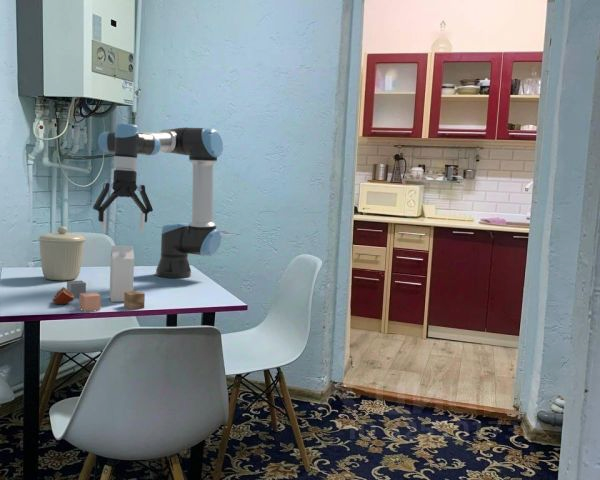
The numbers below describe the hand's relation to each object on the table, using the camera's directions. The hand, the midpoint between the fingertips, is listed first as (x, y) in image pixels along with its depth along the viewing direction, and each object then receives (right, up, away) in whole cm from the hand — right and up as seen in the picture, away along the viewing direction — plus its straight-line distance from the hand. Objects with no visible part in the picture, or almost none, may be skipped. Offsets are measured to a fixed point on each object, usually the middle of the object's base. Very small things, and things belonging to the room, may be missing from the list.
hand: (122, 231), depth 197 cm
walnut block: (+6, -25, -7) cm, 27 cm away
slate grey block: (-18, -23, +4) cm, 29 cm away
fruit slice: (-17, -24, -8) cm, 31 cm away
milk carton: (-2, -24, +3) cm, 24 cm away
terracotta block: (-6, -25, -14) cm, 30 cm away
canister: (-35, -19, +32) cm, 51 cm away
